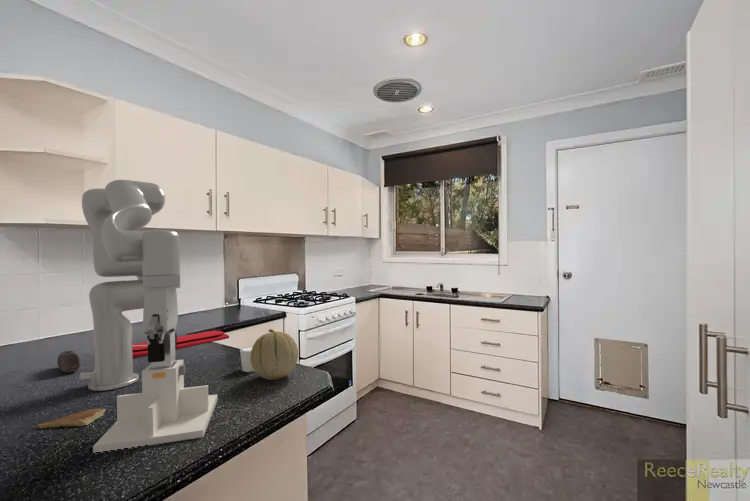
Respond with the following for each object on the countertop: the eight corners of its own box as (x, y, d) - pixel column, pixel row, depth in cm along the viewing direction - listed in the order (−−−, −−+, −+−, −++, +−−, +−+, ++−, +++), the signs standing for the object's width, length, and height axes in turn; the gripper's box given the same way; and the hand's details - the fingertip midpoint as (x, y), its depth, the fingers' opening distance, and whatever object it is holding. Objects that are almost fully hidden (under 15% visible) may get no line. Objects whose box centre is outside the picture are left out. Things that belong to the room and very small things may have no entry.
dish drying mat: (229, 339, 165) (229, 331, 165) (126, 361, 133) (126, 351, 133) (214, 334, 175) (213, 327, 175) (114, 354, 143) (114, 345, 143)
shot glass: (254, 373, 116) (254, 351, 116) (236, 372, 117) (235, 351, 117) (265, 366, 122) (264, 346, 122) (247, 365, 124) (247, 345, 124)
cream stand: (93, 453, 70) (91, 386, 70) (132, 410, 89) (131, 357, 89) (203, 437, 75) (201, 374, 75) (217, 399, 95) (216, 349, 95)
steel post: (151, 415, 80) (150, 336, 80) (157, 407, 84) (156, 332, 84) (171, 412, 81) (170, 334, 81) (176, 405, 85) (175, 330, 85)
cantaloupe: (273, 390, 100) (272, 338, 100) (240, 381, 108) (239, 332, 108) (308, 374, 113) (307, 328, 113) (277, 367, 120) (276, 324, 121)
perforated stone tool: (54, 368, 126) (54, 348, 126) (73, 364, 130) (73, 345, 130) (61, 377, 116) (60, 356, 116) (81, 372, 120) (81, 352, 120)
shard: (36, 430, 81) (36, 422, 81) (64, 415, 89) (64, 408, 89) (85, 428, 81) (84, 421, 81) (108, 413, 89) (108, 406, 89)
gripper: (155, 280, 90) (157, 347, 90) (128, 286, 73) (130, 368, 73) (188, 279, 92) (189, 344, 92) (169, 285, 75) (170, 364, 75)
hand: (163, 355), depth 82 cm, fingers open, 9 cm apart
